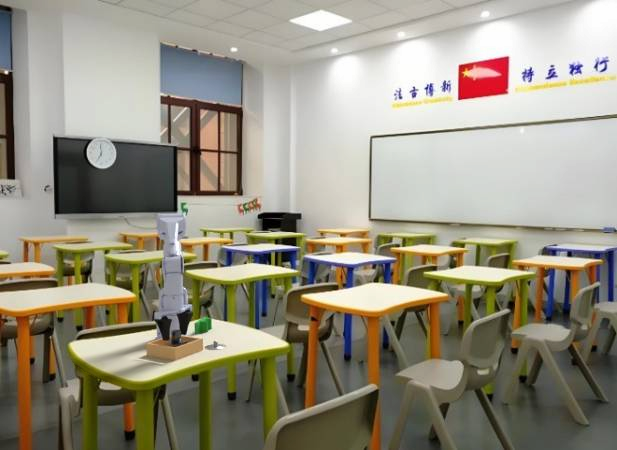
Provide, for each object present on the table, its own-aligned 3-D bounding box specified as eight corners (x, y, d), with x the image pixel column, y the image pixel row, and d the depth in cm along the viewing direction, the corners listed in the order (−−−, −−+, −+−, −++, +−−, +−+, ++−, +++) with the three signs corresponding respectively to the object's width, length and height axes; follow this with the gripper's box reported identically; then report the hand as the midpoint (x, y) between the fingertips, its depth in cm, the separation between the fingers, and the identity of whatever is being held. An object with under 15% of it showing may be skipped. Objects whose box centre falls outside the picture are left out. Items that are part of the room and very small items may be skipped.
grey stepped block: (165, 353, 157) (164, 332, 157) (174, 349, 162) (174, 328, 161) (178, 355, 155) (177, 333, 155) (188, 350, 160) (187, 329, 160)
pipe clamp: (204, 336, 181) (204, 323, 181) (194, 335, 182) (194, 323, 181) (214, 328, 192) (213, 316, 192) (204, 328, 193) (204, 316, 193)
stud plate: (200, 349, 163) (199, 342, 163) (214, 344, 169) (214, 337, 169) (217, 352, 159) (216, 344, 159) (230, 346, 166) (230, 339, 165)
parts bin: (146, 356, 156) (146, 343, 156) (174, 346, 167) (174, 334, 167) (175, 361, 150) (175, 348, 150) (203, 350, 161) (202, 338, 161)
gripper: (166, 299, 150) (167, 344, 150) (199, 291, 162) (200, 333, 163) (149, 297, 153) (150, 341, 154) (182, 290, 166) (183, 331, 166)
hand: (174, 337), depth 159 cm, fingers open, 7 cm apart
